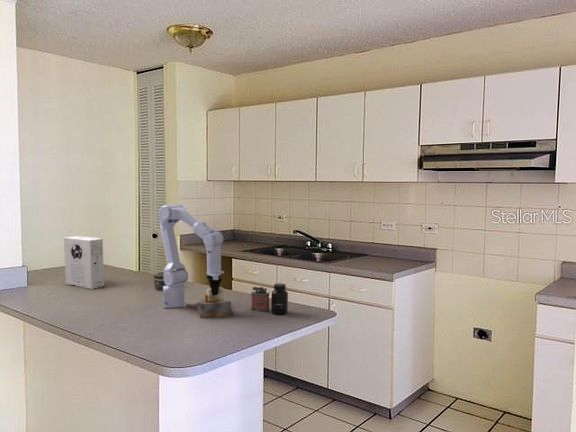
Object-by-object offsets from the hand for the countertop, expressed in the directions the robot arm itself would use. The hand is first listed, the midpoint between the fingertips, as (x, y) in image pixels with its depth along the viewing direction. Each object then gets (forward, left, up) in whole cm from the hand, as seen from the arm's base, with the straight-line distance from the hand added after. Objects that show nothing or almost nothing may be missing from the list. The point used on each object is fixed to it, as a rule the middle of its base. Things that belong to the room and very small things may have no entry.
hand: (214, 293), depth 203 cm
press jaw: (0, +16, -6) cm, 17 cm away
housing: (0, 0, -2) cm, 2 cm away
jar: (-20, +51, -8) cm, 55 cm away
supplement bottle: (+26, -7, -8) cm, 28 cm away
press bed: (0, +8, -8) cm, 11 cm away
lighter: (+19, -1, -8) cm, 21 cm away
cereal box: (-60, +68, -8) cm, 91 cm away
